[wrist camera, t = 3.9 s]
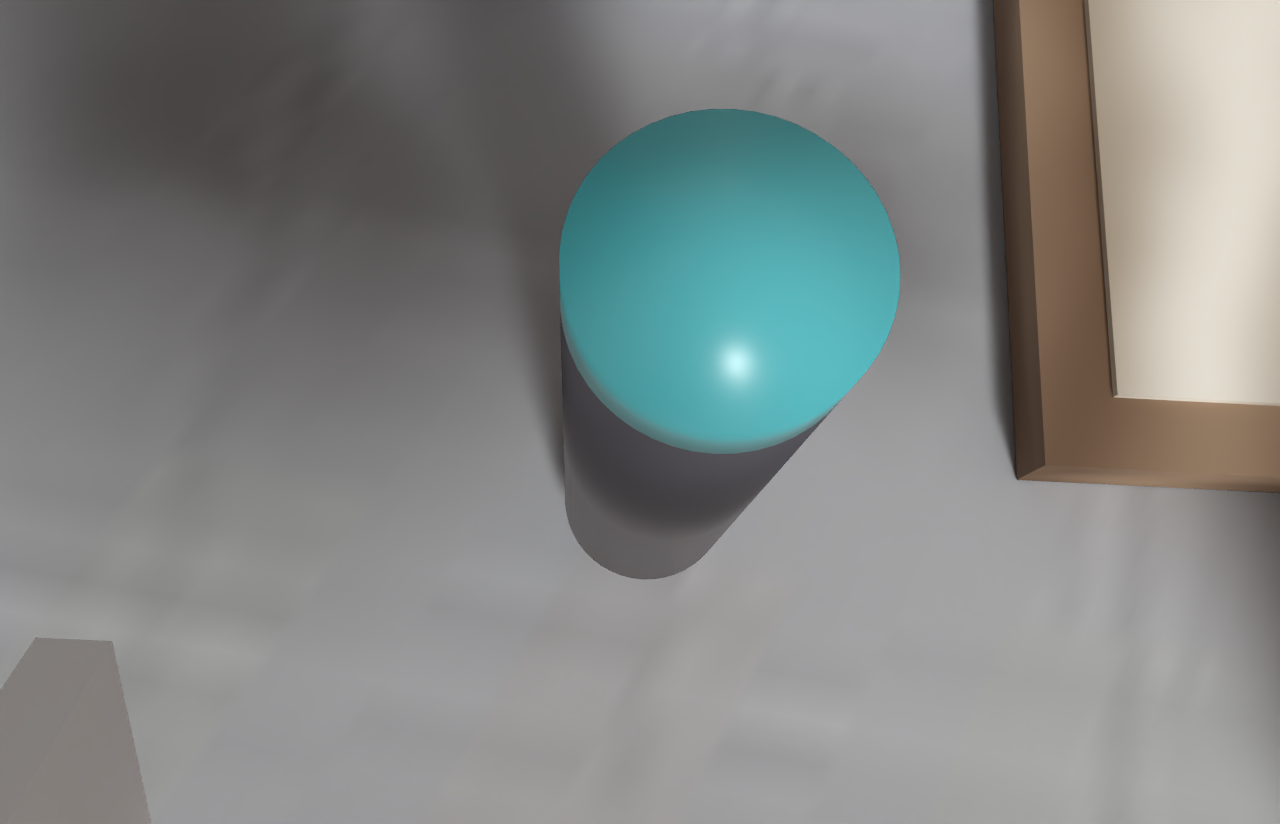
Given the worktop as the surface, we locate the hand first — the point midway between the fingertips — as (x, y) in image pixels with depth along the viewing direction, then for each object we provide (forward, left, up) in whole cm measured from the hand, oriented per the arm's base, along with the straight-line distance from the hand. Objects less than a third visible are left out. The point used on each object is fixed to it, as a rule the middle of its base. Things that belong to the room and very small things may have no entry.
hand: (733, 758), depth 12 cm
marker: (-1, +5, -10) cm, 11 cm away
